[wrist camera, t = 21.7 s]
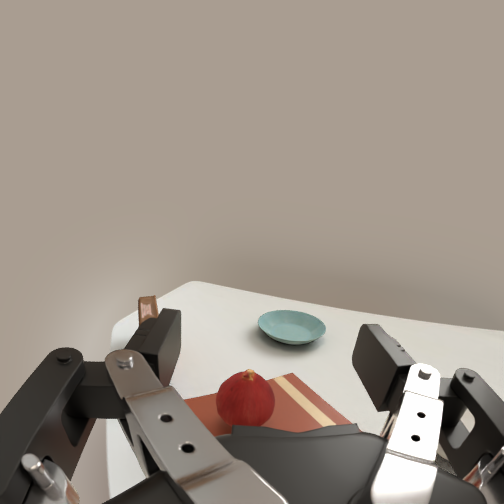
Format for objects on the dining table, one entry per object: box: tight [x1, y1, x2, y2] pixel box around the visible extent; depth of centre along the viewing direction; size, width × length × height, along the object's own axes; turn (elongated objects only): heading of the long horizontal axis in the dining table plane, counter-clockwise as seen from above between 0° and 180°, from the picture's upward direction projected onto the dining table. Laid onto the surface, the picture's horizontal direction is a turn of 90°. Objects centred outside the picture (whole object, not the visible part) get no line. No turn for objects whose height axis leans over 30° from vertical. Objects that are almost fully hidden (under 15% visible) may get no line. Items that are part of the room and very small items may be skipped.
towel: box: [184, 373, 362, 437], centre depth 26 cm, size 20×15×1 cm
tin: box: [138, 295, 159, 326], centre depth 36 cm, size 15×3×8 cm, turn 21°
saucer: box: [258, 310, 326, 344], centre depth 49 cm, size 12×12×2 cm
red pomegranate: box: [216, 369, 275, 427], centre depth 26 cm, size 6×6×8 cm
